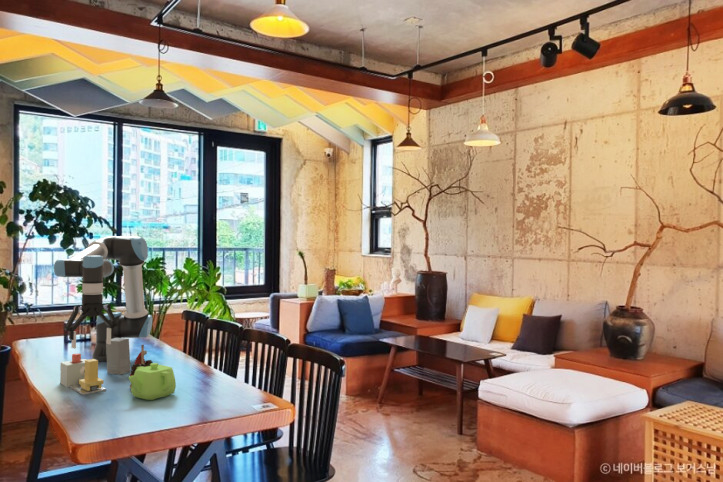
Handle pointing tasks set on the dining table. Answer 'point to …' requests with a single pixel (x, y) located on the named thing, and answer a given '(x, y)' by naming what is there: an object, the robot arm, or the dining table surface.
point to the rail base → (82, 391)
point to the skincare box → (118, 356)
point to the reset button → (76, 358)
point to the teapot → (152, 381)
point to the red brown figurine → (140, 361)
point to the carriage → (91, 375)
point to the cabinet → (72, 372)
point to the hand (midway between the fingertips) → (91, 345)
